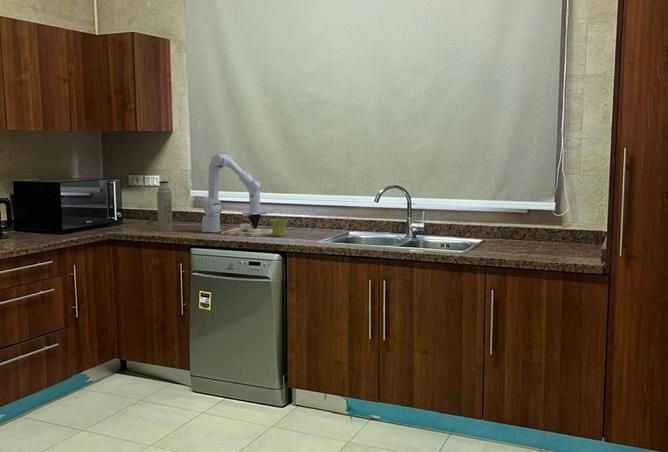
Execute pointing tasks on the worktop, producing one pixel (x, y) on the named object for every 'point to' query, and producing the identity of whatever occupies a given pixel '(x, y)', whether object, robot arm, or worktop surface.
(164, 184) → the thermos bottle
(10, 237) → the worktop surface
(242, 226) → the cream cap
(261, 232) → the birch board
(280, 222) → the plant pot
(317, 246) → the worktop surface
